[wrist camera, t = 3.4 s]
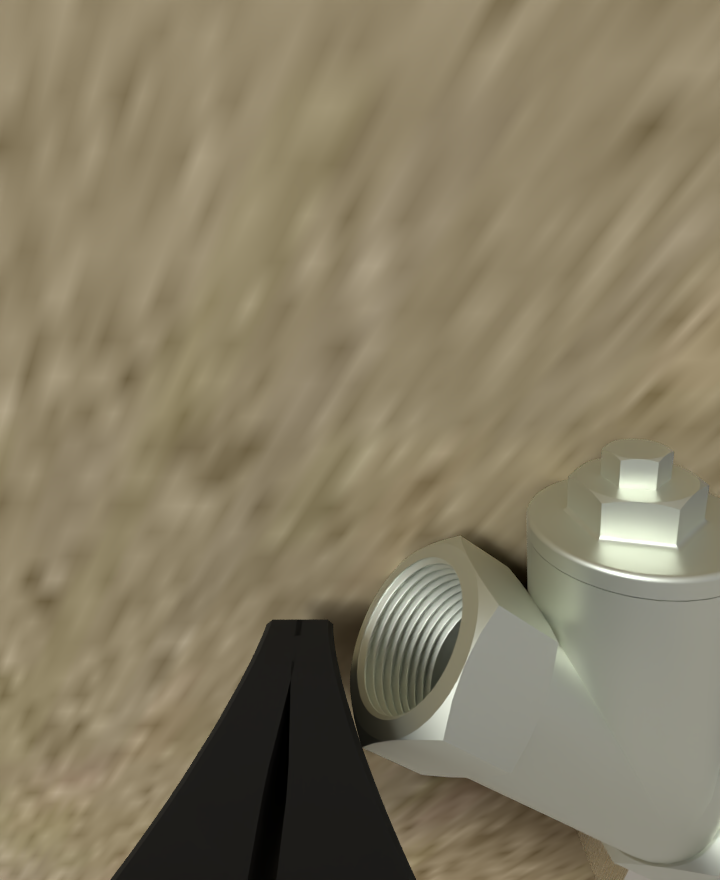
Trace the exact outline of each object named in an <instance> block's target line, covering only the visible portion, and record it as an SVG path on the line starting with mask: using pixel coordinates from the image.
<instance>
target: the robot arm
mask: <svg viewBox="0 0 720 880" xmlns="http://www.w3.org/2000/svg"><path fill="white" fill-rule="evenodd" d="M111 880H416V878H415V876H414V874H413V872H412V870H411V867H410V865H409V863H408V861H407V859H406V856H405V854H404V852H403V850H402V847H401V845H400V843H399V840H398V838H397V836H396V833H395V831H394V829H393V826H392V824H391V822H390V819H389V817H388V814H387V812H386V810H385V807H384V805H383V802H382V800H381V797H380V795H379V792H378V789H377V787H376V784H375V782H374V779H373V776H372V774H371V771H370V768H369V765H368V763H367V760H366V757H365V755H364V752H363V749H362V746H361V743H360V740H359V737H358V734H357V731H356V728H355V725H354V721H353V718H352V715H351V712H350V708H349V705H348V702H347V698H346V695H345V691H344V687H343V684H342V680H341V675H340V671H339V667H338V662H337V657H336V651H335V645H334V636H333V624H332V623H331V622H330V621H329V620H272V621H270V622H269V623H268V624H267V625H266V628H265V631H264V633H263V636H262V638H261V640H260V642H259V645H258V647H257V649H256V651H255V653H254V655H253V658H252V660H251V662H250V664H249V666H248V667H247V669H246V671H245V673H244V675H243V677H242V679H241V681H240V683H239V685H238V687H237V688H236V690H235V692H234V694H233V695H232V697H231V699H230V701H229V703H228V704H227V706H226V708H225V710H224V711H223V713H222V715H221V717H220V718H219V720H218V722H217V724H216V725H215V727H214V729H213V730H212V732H211V734H210V735H209V737H208V738H207V740H206V742H205V743H204V745H203V746H202V748H201V750H200V751H199V753H198V754H197V756H196V757H195V759H194V761H193V762H192V764H191V765H190V767H189V769H188V770H187V772H186V773H185V775H184V777H183V778H182V780H181V781H180V783H179V784H178V786H177V787H176V789H175V790H174V792H173V793H172V795H171V796H170V798H169V799H168V801H167V802H166V804H165V805H164V806H163V808H162V809H161V811H160V812H159V814H158V815H157V817H156V818H155V819H154V821H153V822H152V824H151V825H150V826H149V828H148V829H147V831H146V832H145V833H144V835H143V836H142V838H141V839H140V840H139V842H138V843H137V845H136V846H135V847H134V849H133V850H132V852H131V853H130V854H129V856H128V857H127V858H126V860H125V861H124V863H123V864H122V865H121V866H120V868H119V869H118V870H117V872H116V873H115V874H114V876H113V877H112V878H111Z"/></svg>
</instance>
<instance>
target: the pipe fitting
mask: <svg viewBox="0 0 720 880" xmlns="http://www.w3.org/2000/svg"><path fill="white" fill-rule="evenodd" d="M673 457H674V451H672V450H671V449H670V448H669V447H667V446H665V445H664V444H661V443H659V442H655V441H651V440H645V439H620V440H616V441H612V442H610V443H609V444H607V445H606V446H605V447H604V448H603V449H602V452H601V458H599V459H595V460H591V461H589V462H587V463H585V464H583V465H582V466H580V467H579V468H577V469H576V470H575V471H574V472H573V473H572V474H571V475H570V476H569V477H568V479H567V480H563V481H560V482H557V483H555V484H552V485H550V486H548V487H546V488H544V489H543V490H541V491H540V492H539V493H537V494H536V495H535V496H534V497H533V499H532V500H531V501H530V503H529V505H528V508H527V514H526V515H527V589H528V592H527V591H526V589H525V588H524V586H523V585H522V584H521V582H520V581H519V580H518V579H517V577H516V576H515V575H514V574H513V572H512V571H511V570H510V569H509V567H507V566H506V565H504V564H503V563H501V562H500V561H498V560H497V559H495V558H493V557H492V556H490V555H489V554H487V553H486V552H484V551H483V550H481V549H480V548H478V547H477V546H475V545H474V544H472V543H471V542H469V541H468V540H466V539H465V538H463V537H462V536H460V535H459V536H455V537H452V538H448V539H445V540H441V541H438V542H435V543H433V544H431V545H428V546H426V547H424V548H421V549H419V550H418V551H416V552H414V553H413V554H411V555H410V556H409V557H407V558H406V559H405V560H404V561H402V562H401V563H400V564H399V565H398V567H397V568H396V569H395V570H394V571H393V572H392V573H391V575H390V576H389V577H388V578H387V580H386V581H385V582H384V584H383V585H382V587H381V588H380V590H379V591H378V593H377V595H376V596H375V598H374V600H373V602H372V604H371V605H370V607H369V609H368V612H367V614H366V616H365V618H364V621H363V623H362V626H361V629H360V632H359V635H358V638H357V641H356V645H355V649H354V654H353V659H352V664H351V672H350V692H351V700H352V707H353V714H354V719H355V723H356V727H357V731H358V735H359V739H360V743H361V746H362V748H364V749H366V750H369V751H371V752H373V753H375V754H377V755H379V756H382V757H384V758H386V759H388V760H390V761H393V762H395V763H397V764H399V765H401V766H403V767H406V768H408V769H410V770H412V771H414V772H417V773H419V774H421V775H429V776H441V777H462V778H468V779H470V780H472V781H474V782H477V783H479V784H481V785H483V786H485V787H487V788H489V789H491V790H494V791H496V792H498V793H500V794H502V795H504V796H506V797H509V798H511V799H513V800H515V801H517V802H519V803H521V804H523V805H526V806H528V807H530V808H532V809H534V810H536V811H538V812H540V813H543V814H545V815H547V816H549V817H551V818H553V819H555V820H557V821H560V822H562V823H564V824H566V825H568V826H570V827H572V828H574V829H576V830H579V831H581V832H583V833H585V834H587V835H589V836H591V837H593V838H595V839H597V840H600V841H601V842H602V844H603V846H604V847H605V849H606V851H607V852H608V854H609V856H610V857H611V859H612V861H613V862H614V863H615V864H618V865H620V866H622V867H624V868H626V869H628V870H631V871H633V872H635V873H637V874H639V875H642V876H644V877H646V878H648V879H650V880H720V498H718V497H716V496H714V495H712V494H709V493H708V491H709V485H708V484H707V483H706V482H704V481H703V480H702V479H701V478H699V477H698V476H697V475H695V474H694V473H692V472H691V471H689V470H687V469H685V468H683V467H681V466H678V465H676V464H673Z"/></svg>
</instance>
